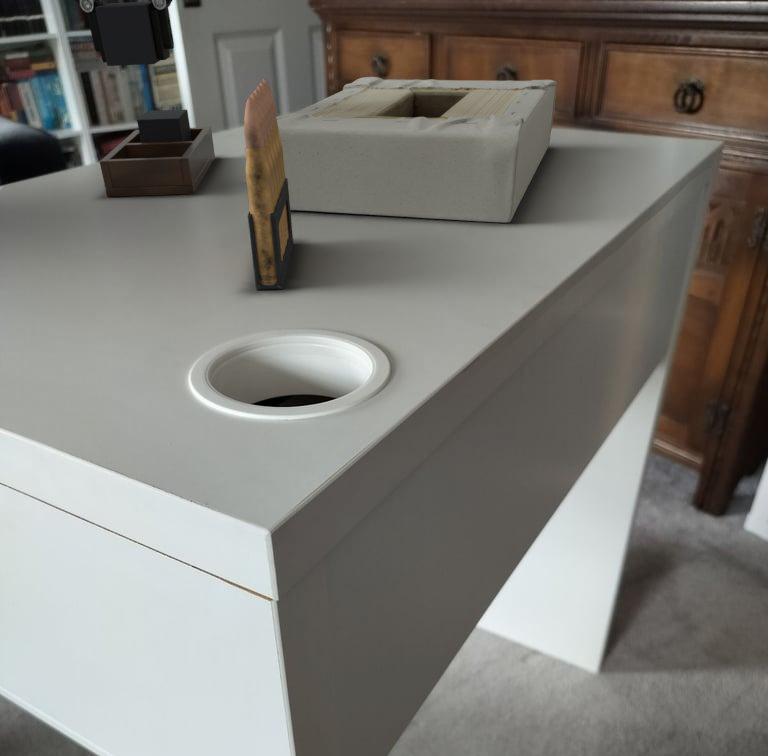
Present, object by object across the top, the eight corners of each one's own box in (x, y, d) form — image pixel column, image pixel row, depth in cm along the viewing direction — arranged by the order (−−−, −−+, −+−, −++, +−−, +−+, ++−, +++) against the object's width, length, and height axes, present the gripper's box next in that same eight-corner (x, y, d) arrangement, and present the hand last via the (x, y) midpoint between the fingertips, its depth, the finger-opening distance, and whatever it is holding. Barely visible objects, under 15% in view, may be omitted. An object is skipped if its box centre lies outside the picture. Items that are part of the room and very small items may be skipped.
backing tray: (107, 197, 77) (99, 161, 76) (141, 160, 91) (135, 129, 89) (193, 193, 78) (188, 158, 76) (215, 158, 91) (211, 127, 89)
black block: (107, 66, 72) (94, 7, 69) (121, 59, 77) (109, 3, 74) (154, 64, 72) (144, 5, 70) (165, 57, 77) (156, 1, 74)
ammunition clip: (270, 243, 64) (253, 77, 57) (293, 243, 64) (278, 76, 57) (256, 290, 55) (232, 100, 48) (282, 289, 55) (262, 99, 48)
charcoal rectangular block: (145, 166, 85) (136, 119, 82) (155, 155, 89) (147, 110, 86) (186, 165, 85) (178, 118, 82) (194, 154, 89) (187, 109, 87)
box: (518, 227, 66) (552, 146, 91) (524, 127, 62) (558, 70, 87) (264, 218, 72) (361, 144, 97) (252, 125, 67) (357, 72, 92)
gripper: (-34, -201, 60) (35, 68, 71) (185, -209, 61) (220, 60, 72) (1, -188, 67) (59, 58, 77) (199, -195, 67) (230, 52, 78)
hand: (136, 57), depth 74 cm, fingers closed on black block, 4 cm apart
